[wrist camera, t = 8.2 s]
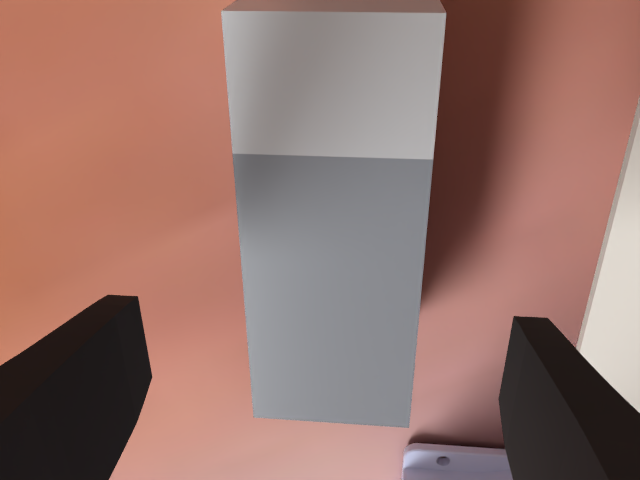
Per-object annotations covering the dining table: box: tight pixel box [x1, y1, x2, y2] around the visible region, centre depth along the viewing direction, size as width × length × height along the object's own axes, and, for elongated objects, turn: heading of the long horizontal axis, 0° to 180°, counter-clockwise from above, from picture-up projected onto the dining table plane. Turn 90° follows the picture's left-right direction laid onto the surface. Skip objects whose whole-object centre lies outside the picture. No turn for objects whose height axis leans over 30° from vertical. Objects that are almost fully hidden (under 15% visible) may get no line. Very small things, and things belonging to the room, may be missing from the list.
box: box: [221, 0, 446, 428], centre depth 17 cm, size 4×11×5 cm, turn 0°
